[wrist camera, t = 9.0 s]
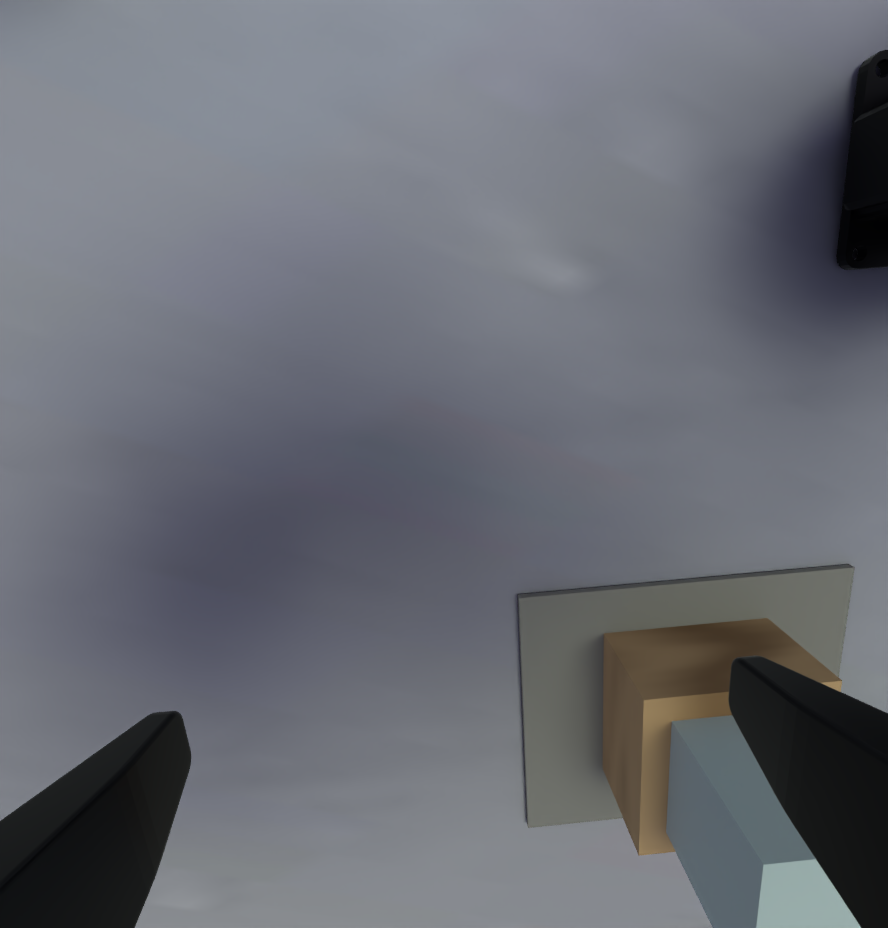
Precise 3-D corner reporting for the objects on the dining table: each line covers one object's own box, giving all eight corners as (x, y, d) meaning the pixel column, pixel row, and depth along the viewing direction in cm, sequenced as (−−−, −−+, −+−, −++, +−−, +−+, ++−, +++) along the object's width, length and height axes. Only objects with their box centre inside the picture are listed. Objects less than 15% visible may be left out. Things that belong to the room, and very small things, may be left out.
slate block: (811, 707, 18) (952, 844, 13) (796, 818, 20) (920, 979, 15) (671, 721, 18) (763, 864, 13) (666, 832, 19) (747, 998, 15)
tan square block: (767, 617, 22) (841, 680, 18) (753, 753, 24) (818, 836, 20) (603, 633, 22) (643, 700, 18) (602, 768, 24) (638, 855, 20)
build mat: (848, 564, 22) (854, 567, 21) (815, 792, 25) (820, 797, 25) (517, 594, 21) (519, 598, 21) (526, 821, 25) (528, 827, 24)
